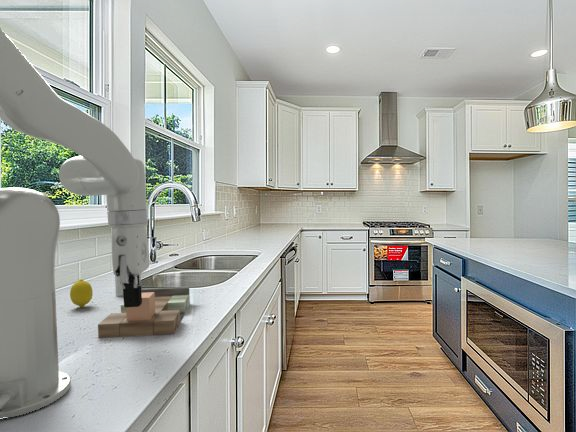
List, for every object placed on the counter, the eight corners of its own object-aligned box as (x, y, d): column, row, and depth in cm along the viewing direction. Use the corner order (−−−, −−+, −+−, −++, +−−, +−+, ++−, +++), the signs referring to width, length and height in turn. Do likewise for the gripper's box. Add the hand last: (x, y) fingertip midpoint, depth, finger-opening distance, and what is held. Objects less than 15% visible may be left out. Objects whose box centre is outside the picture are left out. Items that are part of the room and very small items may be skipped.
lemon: (83, 310, 100) (82, 281, 100) (65, 309, 101) (64, 281, 101) (97, 305, 106) (96, 277, 105) (80, 304, 107) (79, 277, 107)
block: (149, 319, 82) (149, 297, 82) (126, 320, 82) (125, 298, 81) (155, 312, 87) (154, 292, 87) (133, 314, 86) (132, 293, 86)
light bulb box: (115, 289, 125) (114, 258, 124) (137, 287, 128) (136, 256, 127) (115, 296, 115) (114, 262, 115) (138, 294, 118) (137, 261, 117)
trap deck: (174, 333, 81) (173, 311, 81) (98, 338, 79) (97, 315, 79) (189, 304, 105) (189, 286, 105) (131, 306, 103) (131, 289, 103)
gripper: (136, 221, 69) (142, 316, 70) (155, 215, 84) (159, 294, 85) (94, 222, 68) (100, 319, 69) (120, 217, 83) (125, 296, 84)
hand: (133, 305), depth 77 cm, fingers closed
